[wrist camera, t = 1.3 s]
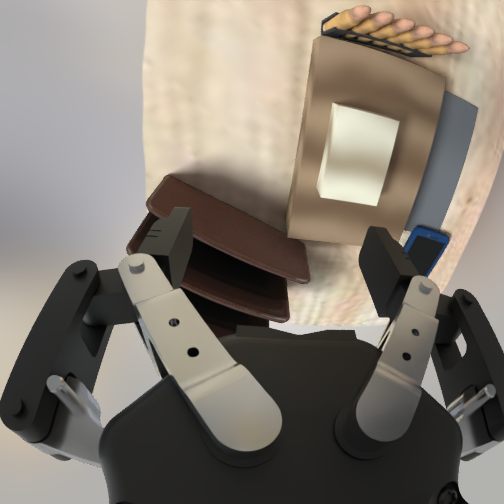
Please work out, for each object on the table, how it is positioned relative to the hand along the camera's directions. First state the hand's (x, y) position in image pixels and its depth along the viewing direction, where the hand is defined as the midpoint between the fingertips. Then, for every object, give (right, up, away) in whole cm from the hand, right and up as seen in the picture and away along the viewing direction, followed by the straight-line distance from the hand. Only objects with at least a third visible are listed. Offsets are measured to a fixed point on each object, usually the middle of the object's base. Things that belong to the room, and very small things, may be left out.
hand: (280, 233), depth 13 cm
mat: (+22, +10, +17) cm, 30 cm away
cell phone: (+23, -3, +26) cm, 35 cm away
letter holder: (-5, +1, +25) cm, 26 cm away
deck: (+11, +11, +17) cm, 23 cm away
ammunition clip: (+11, +22, +9) cm, 26 cm away
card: (+9, +8, +12) cm, 17 cm away
